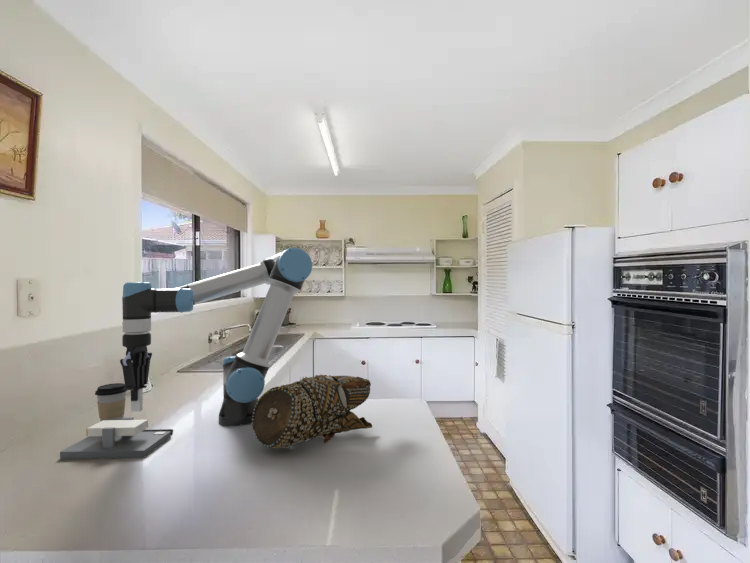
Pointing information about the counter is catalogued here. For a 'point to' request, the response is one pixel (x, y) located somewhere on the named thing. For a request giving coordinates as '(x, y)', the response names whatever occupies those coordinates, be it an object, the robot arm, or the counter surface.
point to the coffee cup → (111, 401)
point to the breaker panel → (116, 445)
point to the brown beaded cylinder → (309, 410)
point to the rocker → (118, 427)
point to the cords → (158, 430)
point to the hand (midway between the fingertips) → (136, 410)
